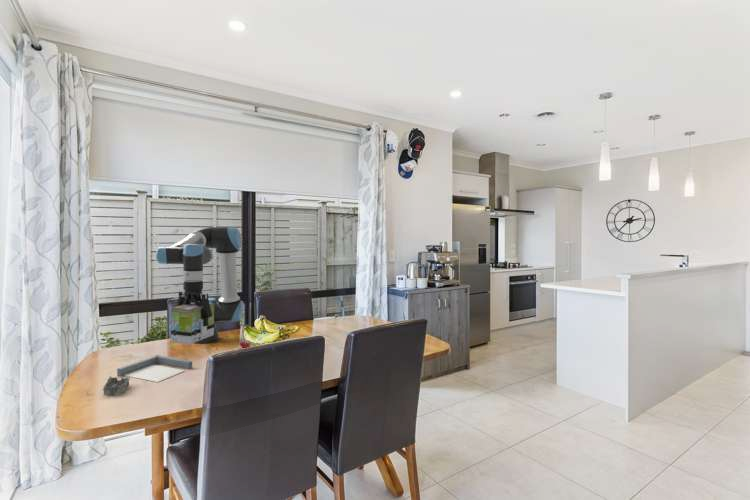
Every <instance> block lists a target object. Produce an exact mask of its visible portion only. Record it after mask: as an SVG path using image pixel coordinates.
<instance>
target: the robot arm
mask: <svg viewBox="0 0 750 500" xmlns="http://www.w3.org/2000/svg"><path fill="white" fill-rule="evenodd" d="M242 241H243V240H242V235H241V232H240V230H239V229H238V228H236V227H230V226H228V227H227V226H221V227H219V226H218V227H217V226H215V227H213V226H207V227H202V228H199V229H196V230H194V231H192V232H191V233H189V234H188V236H187V237H185V238H183V239H182V240H180V241H177V242H175V243H174V244H172V245H171V246H159V247H158V248H157V250H156V253H155V259H156V262H158V264H163V265H164V264H165V265H183V283H182V285H183V286H182V287H183V290H184V291H179V292H178V299H177V303H176V306H180V305H187V304H190V303H195V305H197V306H199V307H200V306H203V308H202V309H201V316H202V318H201V334H205V333H207V326H208V318H209V317H212V312H211V308H210V304H209V303H214V335H213V336H210V337H207V338H205V339H202V340H200V341H197V342H195V343H194V344H208V343H213V342H217V341H218V340H219V337H220V334H219V333H218V329H217V326H216V322H217V323H218V322H222V323H223V322H224V323H225V322H226V323H227V322H230V323H233V322H239V321H240V320H241V319H242V316H243V313H244V304H245V303H244V301H243V300H241V297H240V296H239V295H238V283H237V282H238V280H237V279H238V277H237V254H238V253H239V249H241V248H242V245H243V242H242ZM212 249H215V253H216V254H217V255H218V259H219V275H220V276H219V277H220V278H219V279H220V280H219V281H220V283H219V285H220V297H218V300H217V299H216V297H209V294H208V293H203V289H204V281H203V280H204V265H207V264H209V263H210V262H211V261H212V260H213V257H214V253H213V251H212ZM208 314H209V315H208Z"/></svg>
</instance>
